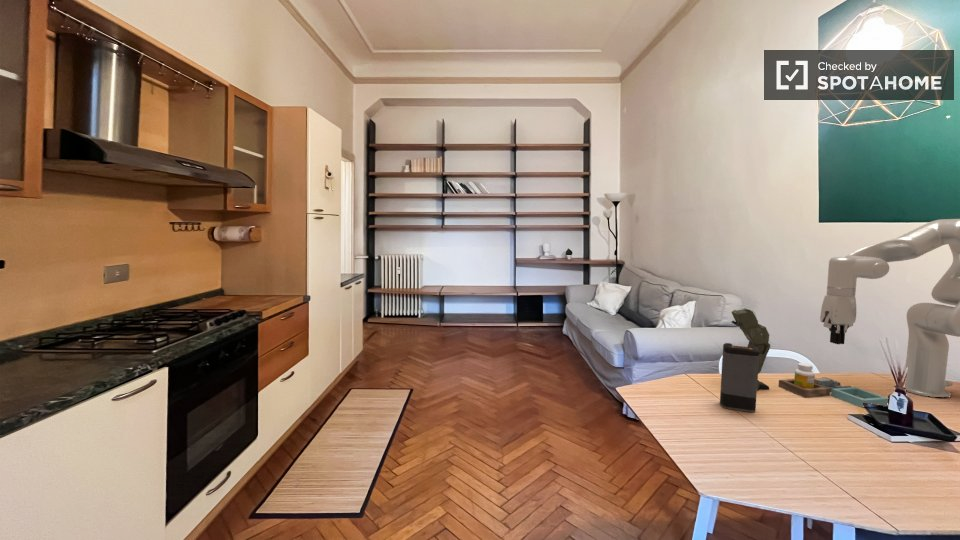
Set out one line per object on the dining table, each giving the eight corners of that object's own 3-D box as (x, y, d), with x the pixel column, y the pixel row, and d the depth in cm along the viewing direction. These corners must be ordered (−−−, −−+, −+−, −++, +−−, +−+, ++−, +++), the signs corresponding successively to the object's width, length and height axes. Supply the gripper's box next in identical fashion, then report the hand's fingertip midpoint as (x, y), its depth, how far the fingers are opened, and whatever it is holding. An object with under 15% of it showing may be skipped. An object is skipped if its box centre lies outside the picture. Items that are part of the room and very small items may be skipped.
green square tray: (854, 393, 138) (855, 386, 138) (888, 406, 129) (889, 398, 128) (830, 395, 137) (831, 388, 137) (863, 408, 127) (863, 400, 127)
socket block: (801, 385, 146) (802, 378, 146) (829, 395, 137) (830, 388, 136) (778, 386, 145) (778, 379, 145) (804, 397, 135) (805, 390, 135)
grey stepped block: (823, 384, 145) (824, 376, 144) (836, 389, 140) (837, 381, 140) (809, 385, 144) (810, 377, 143) (822, 390, 139) (822, 382, 139)
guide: (837, 385, 146) (837, 381, 146) (851, 390, 141) (851, 386, 141) (809, 387, 144) (810, 383, 144) (823, 392, 139) (823, 388, 139)
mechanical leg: (770, 381, 148) (754, 303, 146) (782, 388, 140) (766, 307, 139) (731, 388, 149) (715, 311, 147) (742, 396, 142) (725, 315, 140)
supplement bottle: (789, 388, 143) (791, 362, 142) (803, 388, 144) (805, 361, 143) (803, 394, 138) (805, 367, 137) (817, 393, 138) (819, 366, 137)
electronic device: (752, 406, 128) (756, 345, 126) (756, 413, 123) (760, 350, 121) (719, 401, 132) (722, 342, 130) (721, 408, 127) (725, 346, 125)
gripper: (847, 290, 145) (843, 339, 146) (812, 291, 142) (808, 341, 144) (870, 293, 137) (866, 345, 139) (833, 294, 135) (829, 347, 136)
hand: (836, 343), depth 141 cm, fingers closed
